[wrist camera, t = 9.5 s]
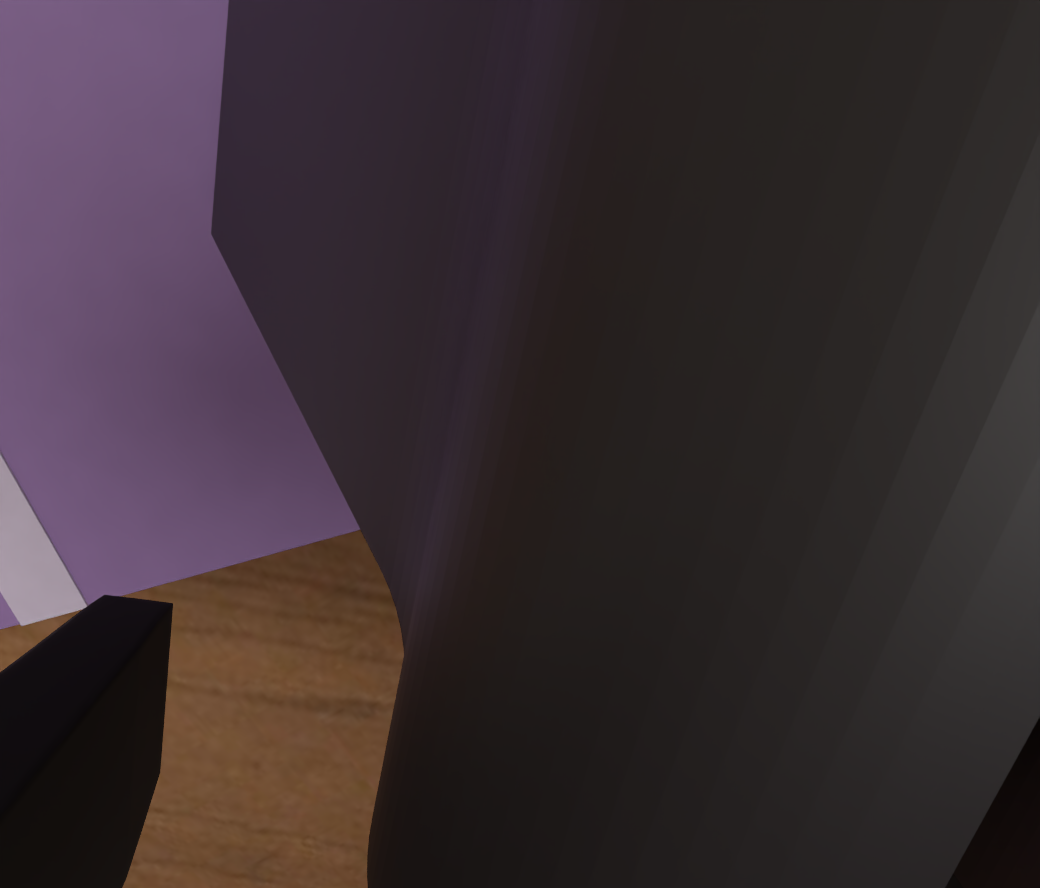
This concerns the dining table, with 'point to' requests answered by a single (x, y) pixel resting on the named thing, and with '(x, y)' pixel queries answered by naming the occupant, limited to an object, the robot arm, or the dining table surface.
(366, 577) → the dining table surface
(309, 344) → the phone stand
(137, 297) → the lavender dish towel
